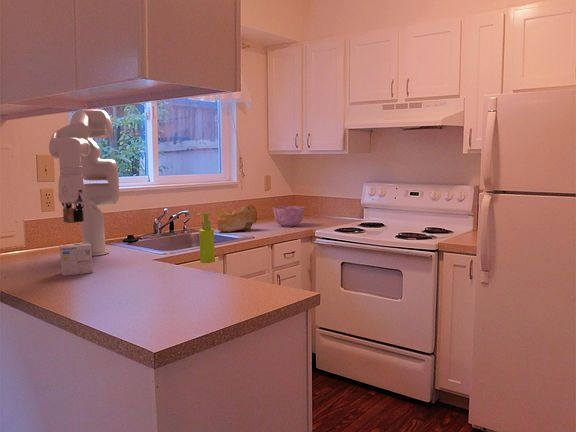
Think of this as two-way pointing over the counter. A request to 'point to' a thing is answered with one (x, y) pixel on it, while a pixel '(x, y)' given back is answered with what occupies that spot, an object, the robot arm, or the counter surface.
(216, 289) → the counter surface
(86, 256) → the light bulb box
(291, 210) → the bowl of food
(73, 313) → the counter surface
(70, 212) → the walnut cube
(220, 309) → the counter surface
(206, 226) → the soap dispenser
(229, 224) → the rough brown rock
